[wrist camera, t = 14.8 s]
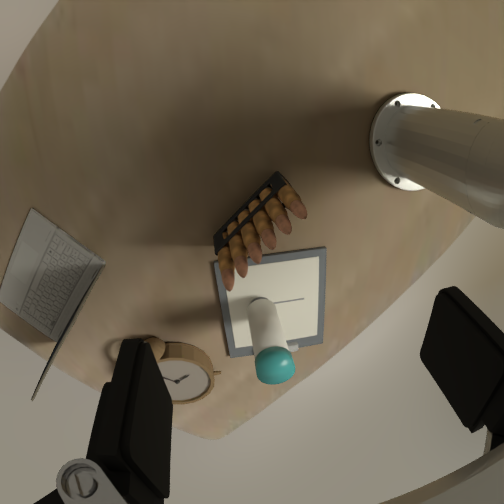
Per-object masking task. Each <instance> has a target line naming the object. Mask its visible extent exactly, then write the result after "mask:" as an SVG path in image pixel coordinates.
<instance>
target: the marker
mask: <svg viewBox="0 0 504 504" xmlns="http://www.w3.org/2000/svg"><path fill="white" fill-rule="evenodd" d="M247 317H248V322H249V328H250V334H251V339H252V345H253V351H254V356H255V367H256V373H257V377H258V379H259V380H260V381H261V382H263V383H266V384H279V383H283V382H285V381H287V380H288V379H290V378H291V377H292V376H293V374H294V372H295V365H294V362H293V359H292V355H291V353H290V351H289V349H288V345H287V342H286V339H285V335H284V332H283V329H282V326H281V322H280V319H279V316H278V313H277V309H276V306H275V304H274V303H273V302H272V301H270V300H268V299H267V298H265V297H258V298H255V299H254V300H252V302H251V303H250V305H249V307H248V308H247Z"/></svg>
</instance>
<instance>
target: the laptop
mask: <svg viewBox="0 0 504 504" xmlns="http://www.w3.org/2000/svg"><path fill="white" fill-rule="evenodd" d="M77 243H78V244H77ZM81 246H83V247H84V248H86V247H85V246H84V245H82V244H81V243H79V242H78V241H77V240H75V239H74V238H72V237H71V236H70V235H68V234H67V233H66V232H64V231H63V230H61V229H60V228H59V227H57V226H56V225H55V224H53V223H52V222H50V221H49V220H48V219H46V218H45V217H44V216H42V215H41V214H40V213H38V212H37V211H36V210H34V209H33V208H31V210H30V212H29V214H28V216H27V219H26V221H25V223H24V226H23V228H22V230H21V233H20V235H19V238H18V240H17V243H16V245H15V248H14V251H13V253H12V256H11V259H10V261H9V264H8V267H7V270H6V273H5V276H4V279H3V282H2V285H1V289H0V302H1V303H2V304H4V305H5V306H6V307H8V308H9V309H10V310H11V311H13V312H14V313H15V314H17V315H18V316H19V317H21V318H22V319H23V320H25V321H26V322H28V323H29V324H30V325H32V326H33V327H35V328H36V329H38V330H39V331H40V332H42V333H43V334H45V335H46V336H48V337H49V338H51V339H52V340H54V341H55V342H57V344H56V346H55V348H54V350H53V352H52V354H51V356H50V358H49V360H48V362H47V365H46V367H45V369H44V371H43V373H42V376H41V378H40V380H39V382H38V385H37V387H36V389H35V391H34V394H33V396H32V399H31V400H32V401H33V400H34V398H35V396H36V394H37V392H38V390H39V388H40V386H41V384H42V382H43V380H44V378H45V376H46V374H47V372H48V370H49V368H50V366H51V364H52V362H53V361H54V359H55V357H56V355H57V353H58V351H59V349H60V348H61V346H62V344H63V342H64V340H65V339H66V337H67V335H68V333H69V332H70V330H71V328H72V326H73V325H74V323H75V321H76V319H77V317H78V315H79V313H80V311H81V309H82V307H83V305H84V303H85V301H86V299H87V297H88V296H89V294H90V292H91V290H92V288H93V286H94V284H95V283H96V281H97V279H98V277H99V276H100V274H101V272H102V270H103V268H104V267H105V263H106V261H105V260H103V259H102V258H101V257H99V256H98V255H96V254H95V253H94V252H92V251H91V250H89V249H88V248H86V249H87V250H88V251H89V252H88V251H87V250H86V249H84V248H83V247H81ZM90 251H91V252H92V253H91V252H90ZM96 270H97V271H96ZM95 271H96V272H95ZM94 273H95V274H94ZM93 275H94V276H93ZM92 276H93V277H92ZM61 330H62V331H61ZM60 332H61V333H60ZM59 334H60V335H59Z"/></svg>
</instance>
